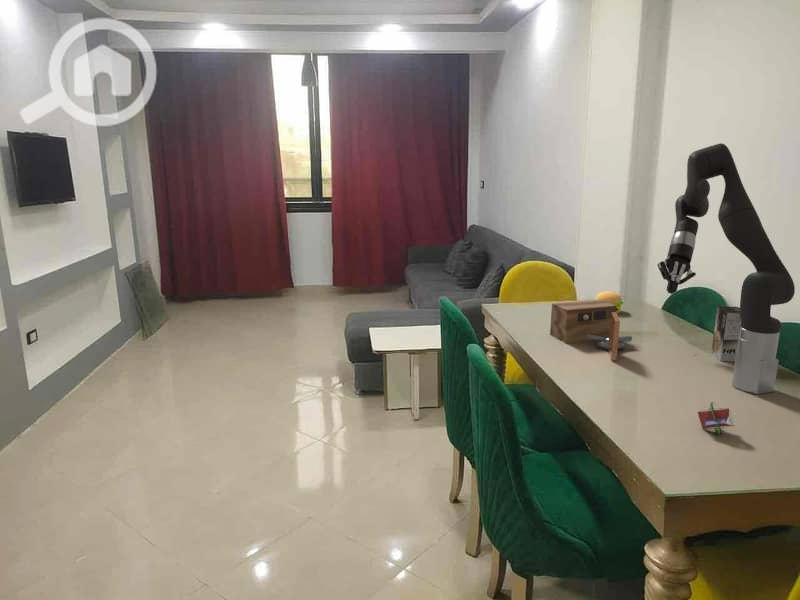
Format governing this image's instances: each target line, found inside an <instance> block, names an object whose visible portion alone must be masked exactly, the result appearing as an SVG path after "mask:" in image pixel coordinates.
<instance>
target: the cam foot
mask: <svg viewBox="0 0 800 600" xmlns="http://www.w3.org/2000/svg"><path fill="white" fill-rule="evenodd" d="M620 325H621V321H620V317H619V315H618V313H616V312H611V323H610V334H609V337H605V336H601V335H596V334H592V333H588V337H587V338H589V339H594V340H593V341H595V347H597V348H599V349H601V350H605V351H608V354H609V357H610V360H611V361H617V357H618V351H620V350H623V349H624V344H625V342H628V343H629V342H632V340H633V336H631V335H623V336H620Z"/></svg>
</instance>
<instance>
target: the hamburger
mask: <svg viewBox="0 0 800 600" xmlns="http://www.w3.org/2000/svg"><path fill="white" fill-rule="evenodd" d="M598 299H600V300H602V301H605V302H608V303H610V304H613V305H616V313H617V314H619V313H620V312H621V309H622V305H623V304H624V300H623V299H622V297H621V295H620V294H618V293H617V292H614V291H611V290H606V291H601V292H599V293H598V294H597V295H596V297H595V298H594V299H593V300H598Z"/></svg>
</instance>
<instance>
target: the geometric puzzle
mask: <svg viewBox="0 0 800 600" xmlns="http://www.w3.org/2000/svg"><path fill="white" fill-rule="evenodd" d="M714 405H715V406H716V407H718V404H715V403H714V402H713V401H711V402H710V404H709V408H708V409H706V410H703V409H704V408H705V407H706V406H705V407H703V408H702V409H700V410H699V411H697V415H698V418H699V422H700V425H701V428H702V430H706V429H707V431H708V432H709V430H712V429H716V430H717V434H718V436H719V437H720V436H721V433H722V431H723V429H724V428H726V427H727V428H732V427H734V426H735V415H734V414H733V413H732V411H731V409H730V408H728V407H727V408H721V407H722V405H721V404H720V406H721V407H719V409H715V406H714ZM708 429H709V430H708ZM712 433H713V434H715V435H716V432H714V431H713V430H712Z"/></svg>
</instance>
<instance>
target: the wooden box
mask: <svg viewBox="0 0 800 600" xmlns="http://www.w3.org/2000/svg"><path fill="white" fill-rule="evenodd" d="M611 312H616V305H613V304H610V303H608V302H605V301H602V300H600V299H598V300H594V299H590V300H589V299H587V300H577V301H576V300H575V301H565V302H563V301H562V302H554V303H553V302H552V303H551V313H550V330H549V335H550V336H551V335H552V337H553V336H554V338H555V337H556V338H555V339H556V340H559V341H561V342H562V341H563V342H562V343H564V344H567V343H579V342H587V341H595V340H594V339H589V338H587V337H588V333H592V334H596V335H601V336H605V337H609V334H610V323H611ZM578 341H579V342H578Z"/></svg>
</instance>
